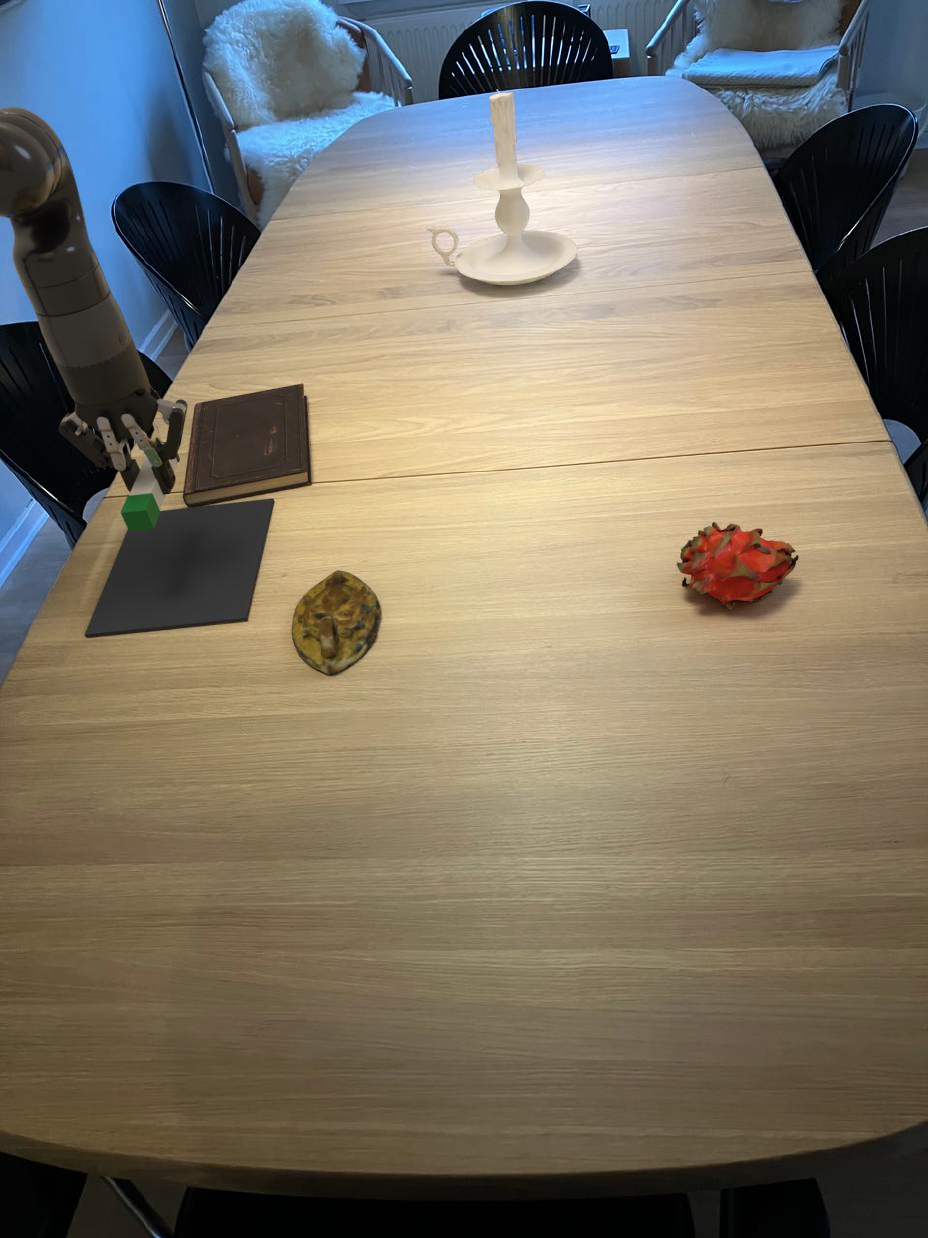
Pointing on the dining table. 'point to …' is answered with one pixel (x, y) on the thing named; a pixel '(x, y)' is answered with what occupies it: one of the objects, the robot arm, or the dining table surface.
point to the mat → (185, 570)
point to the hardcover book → (248, 446)
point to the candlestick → (509, 217)
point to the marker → (144, 499)
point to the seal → (335, 622)
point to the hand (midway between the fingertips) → (154, 491)
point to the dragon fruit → (735, 564)
